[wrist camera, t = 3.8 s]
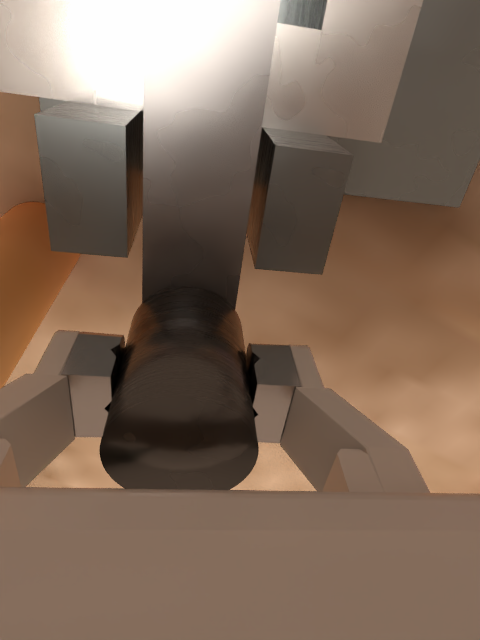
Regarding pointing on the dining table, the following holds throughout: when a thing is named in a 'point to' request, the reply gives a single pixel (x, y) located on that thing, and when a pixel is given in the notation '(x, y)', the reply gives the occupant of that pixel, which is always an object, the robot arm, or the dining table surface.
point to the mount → (278, 121)
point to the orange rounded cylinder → (26, 279)
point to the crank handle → (193, 249)
